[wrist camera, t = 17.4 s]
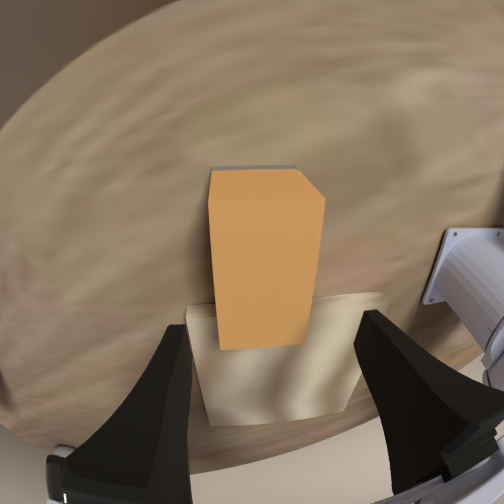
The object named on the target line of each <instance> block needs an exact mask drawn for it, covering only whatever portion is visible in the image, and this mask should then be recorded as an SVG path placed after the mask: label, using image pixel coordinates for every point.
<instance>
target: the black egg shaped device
mask: <svg viewBox="0 0 504 504" xmlns="http://www.w3.org/2000/svg"><path fill="white" fill-rule="evenodd" d="M74 450H76V448H73V447H70V446H57V447H55V448H54V449H53V450H52V451H51V452H50V454H49V455H48V456H47V460H46V484H47V490H48V495H49V498H50V499H53V500H56V501H59V502H62V503H65V504H82V503H81V502H79V501H77V500H75V499H73V498H71V497H69V496H67V495H66V494H64V493H62V492H61V490H60V489H59V485H60V479H61V473H62V468H63V465H64V462H65V459H66V457H67V456H68V455H69V454H71V453H72V452H73V451H74Z"/></svg>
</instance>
